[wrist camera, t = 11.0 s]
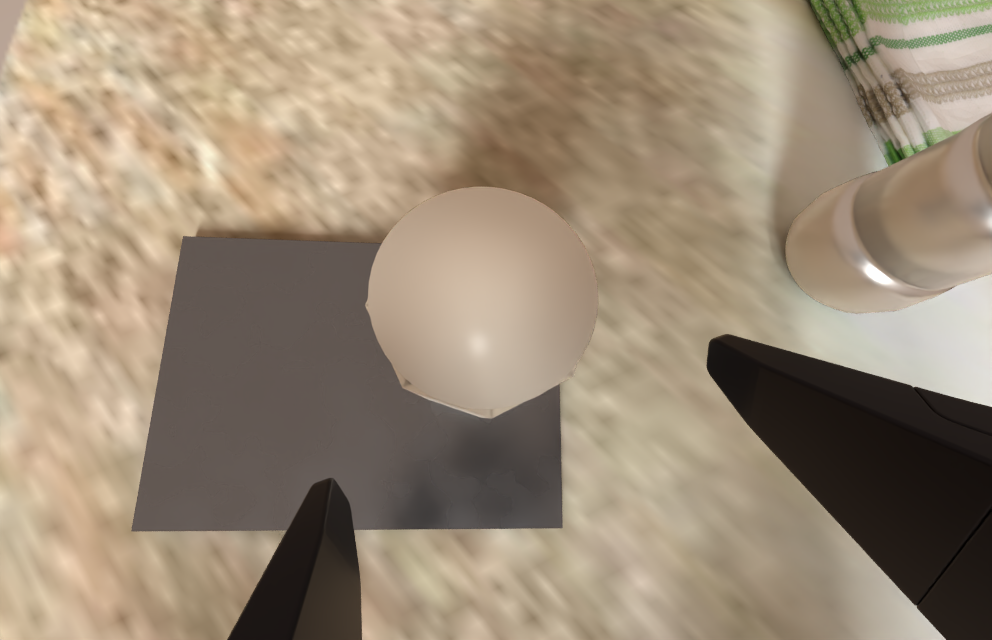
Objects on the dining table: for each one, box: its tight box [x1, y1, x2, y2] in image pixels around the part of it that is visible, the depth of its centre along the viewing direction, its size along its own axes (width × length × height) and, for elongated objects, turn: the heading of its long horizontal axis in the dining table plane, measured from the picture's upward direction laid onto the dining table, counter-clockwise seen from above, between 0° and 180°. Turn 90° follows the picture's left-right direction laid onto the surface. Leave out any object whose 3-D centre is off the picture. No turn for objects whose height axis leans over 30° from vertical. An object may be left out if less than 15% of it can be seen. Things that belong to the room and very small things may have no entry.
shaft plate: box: [132, 236, 563, 531], centre depth 19 cm, size 18×13×4 cm
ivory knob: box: [365, 187, 598, 419], centre depth 16 cm, size 6×6×10 cm
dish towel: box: [809, 0, 992, 166], centre depth 27 cm, size 17×23×4 cm
